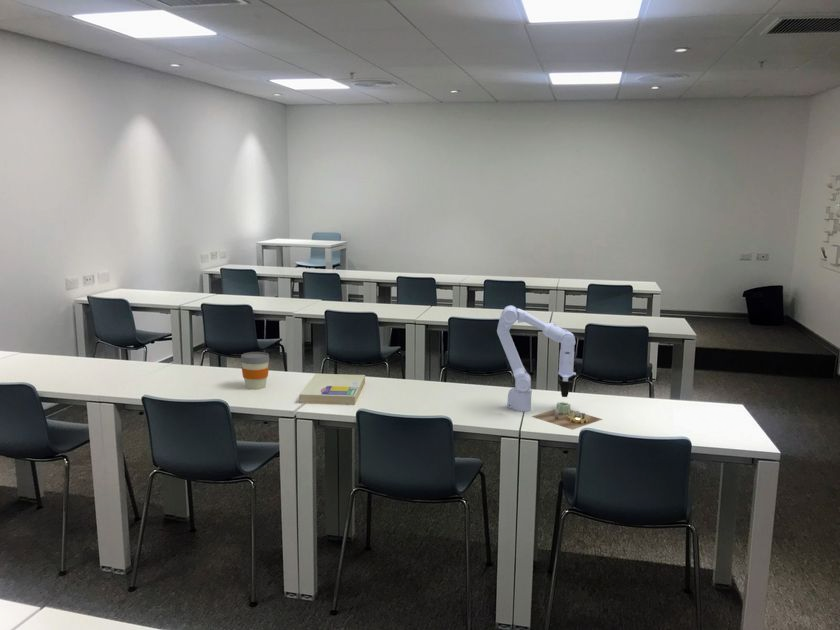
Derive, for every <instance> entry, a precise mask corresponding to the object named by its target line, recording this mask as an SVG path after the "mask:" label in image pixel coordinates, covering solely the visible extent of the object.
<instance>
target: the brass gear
mask: <svg viewBox="0 0 840 630" xmlns="http://www.w3.org/2000/svg"><path fill="white" fill-rule="evenodd" d="M581 413H582V415H581V414H580V415H579V416H576V414H574V413H572V414H568V415H566V421H570V423H575V424H578V423H580V424H583V423H588V422H589V416H585V412H581Z"/></svg>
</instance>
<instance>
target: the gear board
mask: <svg viewBox="0 0 840 630" xmlns="http://www.w3.org/2000/svg"><path fill="white" fill-rule="evenodd" d="M572 413H574V414H576V416H579V415H580V414H581V415H582V413H583V412H580V411H579V410H572V409H570V412H569V413H565V414H563V413H559V410H558V409H556V408H555V409H552V410H549V411H545V412H542V413H538V414H535V415H532V416H531V417H532V418H533V419H538V420H541V421H544V422H547V423H550V424H553V425H556V426H560V427H562V428H565V429H569V430H576V429H579V428H582V427H585V426H587V425H591V424H593V423H596V422H599V421H603V418H600V417H597V416H593V415H589V414H585V416H589V422H588V423H583V424H580V423H578V424H575V423H570V421H566V415H568V414H572Z"/></svg>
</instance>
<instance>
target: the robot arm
mask: <svg viewBox="0 0 840 630" xmlns="http://www.w3.org/2000/svg"><path fill="white" fill-rule="evenodd" d="M498 319H499V320H498V323H497V329H496V333H497V336H498V338H499V341H500V343H501V346H502V348H503V350H504V353H505V355H506V358H507V360H508V363H509V365H510V368H511V370H512V374H513V377H514V381H515V383H514V384H515V385H514V386H515V387H512V388H510V389H509V390H508V393H507V408H509V409H511V410H514V411H516V412H522V413H523V412H524V413H525V412H530V411H531V410H532V391H533V390H532V388H531V386H532V383H531V382H532V378H531V374H529V373H528V371H527V370H526V368H525V366H524V365H523V362H522V360H521V358H520V355H519V352H518V350H517V347H516V346H515V343H514V341H513V337H512V334H511V333H510V330H511V328H512V326H513V325H515V323H516V322H517V323H518V324H520V323H526V324H529V325H531V326H532V327H534V328H536V329H539V330H540V331H542V334H543V335H544V336H545V337H547V338H549V339H551V340H552V341H554V342H556V343H560V350H559V358H558V359H559V360H558V361H559V362H558V372H557V374H558V377H559V379H558V380H557V381H558V384H559V387H560V395H561V397H562V398H568V395H569V392H570V388H571V385H572V384H573V380H572V379H573V376H576V375H577V373H576V372H574V366H575V365H574V364H575V363H574V361H575V345H576V338H575V335H574V333H572V332H571V331H570V330H568V329H566V328H565V329H564V328H562V327H560V326H558V324H557V322H556V323H555V322H553V323H552V322H547V323H546V322H544V321H542V320H541V319H539V318H537V317H536V316H534V315H532V314H530V313H529V312H527V311H525V310H523V309H521V308H517V307H516V306H514V305H507V306H505V307H504V308H503V310H502V312H501V313H500V316H499V318H498Z"/></svg>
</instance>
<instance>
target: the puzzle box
mask: <svg viewBox="0 0 840 630" xmlns="http://www.w3.org/2000/svg"><path fill="white" fill-rule="evenodd" d="M365 384H366V375H365V374H341V373H339V374H337V373H335V374H334V373H315V374H314V375H313V377H312V378H311V379H310V380H309V382H308V383H307V384H306V385H305V387H304V388H303V389H302V391H300V393H299V404H309V405H341V406H344V405H345V406H355V405H356V404H357V401H358V399H359V397H360V395H361V393H362V391H363V388H364V387H365Z"/></svg>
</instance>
